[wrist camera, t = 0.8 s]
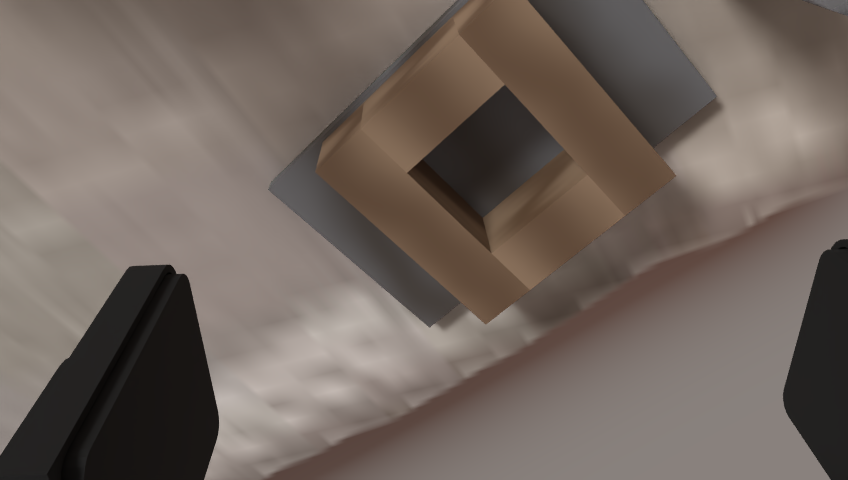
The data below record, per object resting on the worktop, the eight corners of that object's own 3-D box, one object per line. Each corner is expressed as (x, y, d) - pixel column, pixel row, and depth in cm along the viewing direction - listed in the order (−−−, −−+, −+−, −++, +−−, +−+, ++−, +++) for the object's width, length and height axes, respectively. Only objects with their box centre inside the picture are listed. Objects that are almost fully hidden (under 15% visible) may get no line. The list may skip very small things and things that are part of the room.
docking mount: (561, -101, 33) (586, -95, 28) (709, 90, 37) (751, 121, 33) (271, 182, 39) (255, 223, 34) (428, 318, 43) (432, 370, 39)
